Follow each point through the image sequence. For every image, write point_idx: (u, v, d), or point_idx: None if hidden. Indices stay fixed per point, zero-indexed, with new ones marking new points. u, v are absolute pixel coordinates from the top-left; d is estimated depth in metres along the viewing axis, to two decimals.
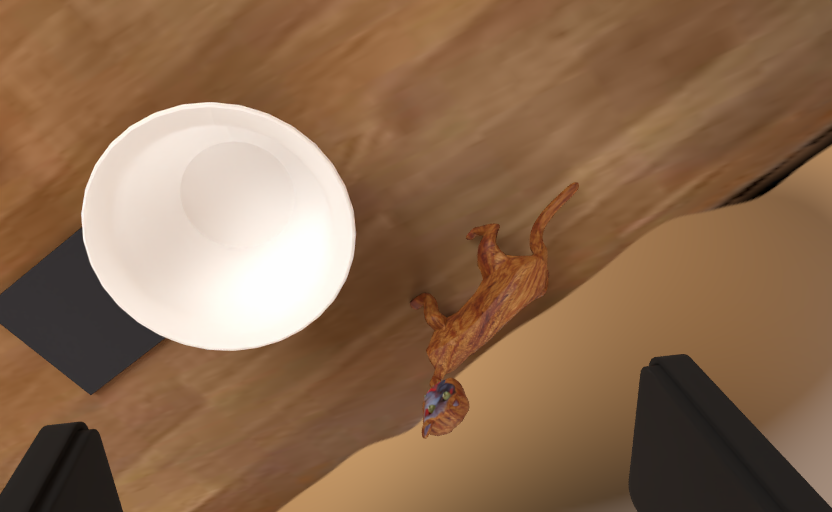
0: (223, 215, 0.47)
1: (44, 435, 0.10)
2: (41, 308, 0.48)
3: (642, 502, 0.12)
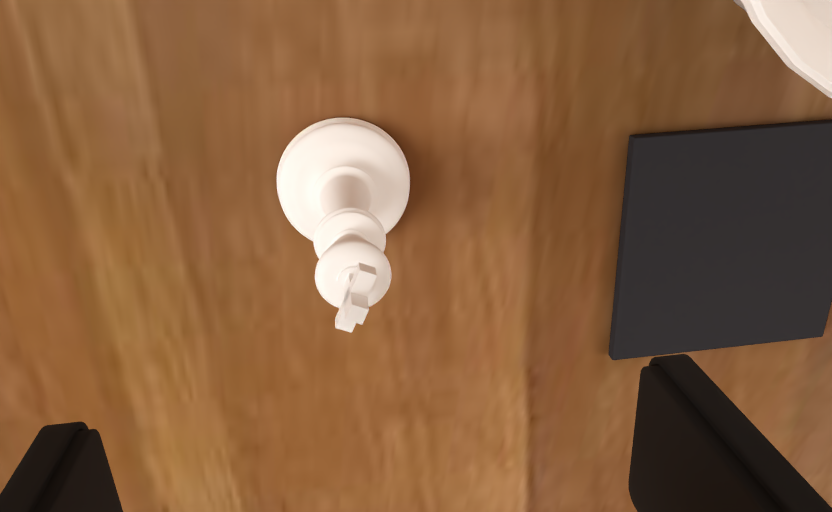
0: None
1: (44, 435, 0.10)
2: (675, 291, 0.28)
3: (642, 502, 0.12)
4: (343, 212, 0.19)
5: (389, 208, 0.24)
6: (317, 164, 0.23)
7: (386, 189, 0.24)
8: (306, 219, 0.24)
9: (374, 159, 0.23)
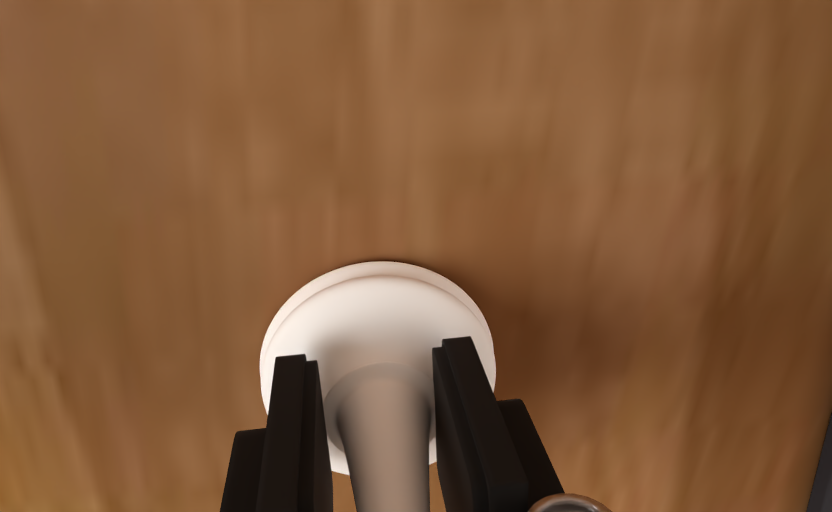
0: None
1: (280, 363, 0.11)
2: None
3: (440, 474, 0.12)
4: None
5: None
6: (332, 354, 0.12)
7: None
8: None
9: (437, 341, 0.13)
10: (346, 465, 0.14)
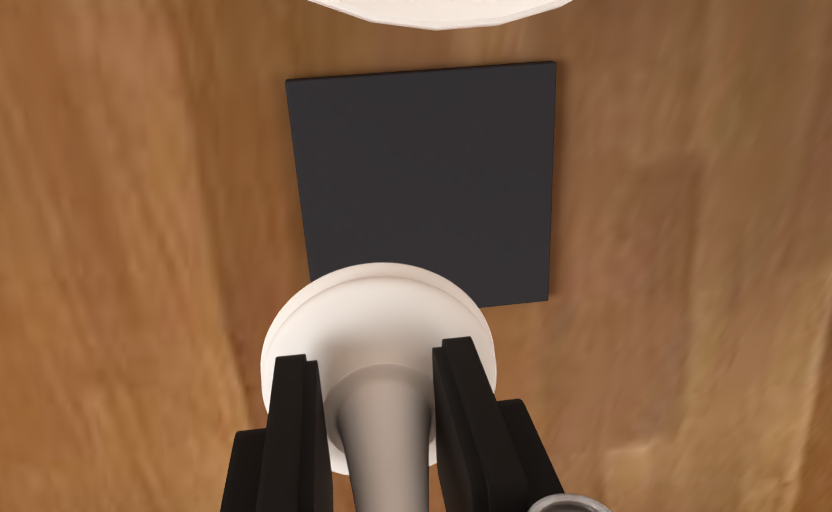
0: None
1: (281, 363, 0.11)
2: (370, 250, 0.26)
3: (440, 474, 0.12)
4: None
5: None
6: (333, 354, 0.12)
7: None
8: None
9: (437, 342, 0.13)
10: (346, 465, 0.14)
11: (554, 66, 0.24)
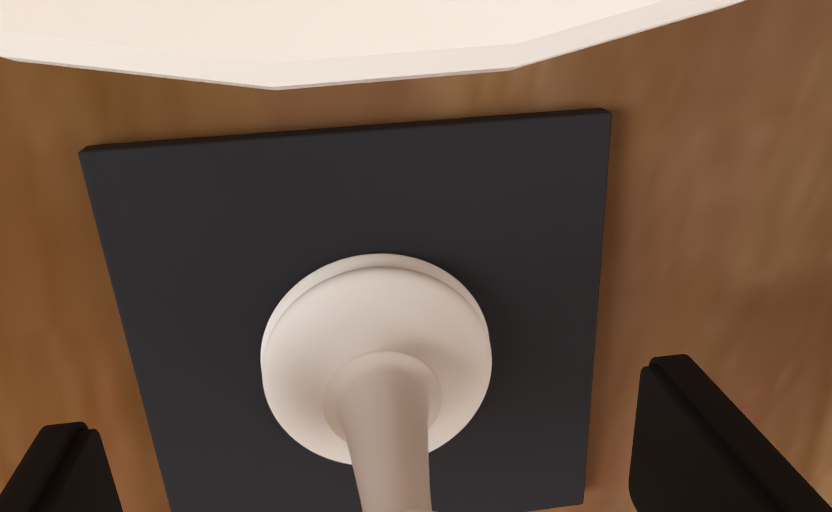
0: None
1: (44, 435, 0.10)
2: (271, 440, 0.15)
3: (642, 502, 0.12)
4: None
5: (457, 406, 0.14)
6: (333, 343, 0.13)
7: (454, 378, 0.13)
8: (312, 429, 0.14)
9: (434, 330, 0.13)
10: (345, 454, 0.14)
11: (608, 120, 0.13)
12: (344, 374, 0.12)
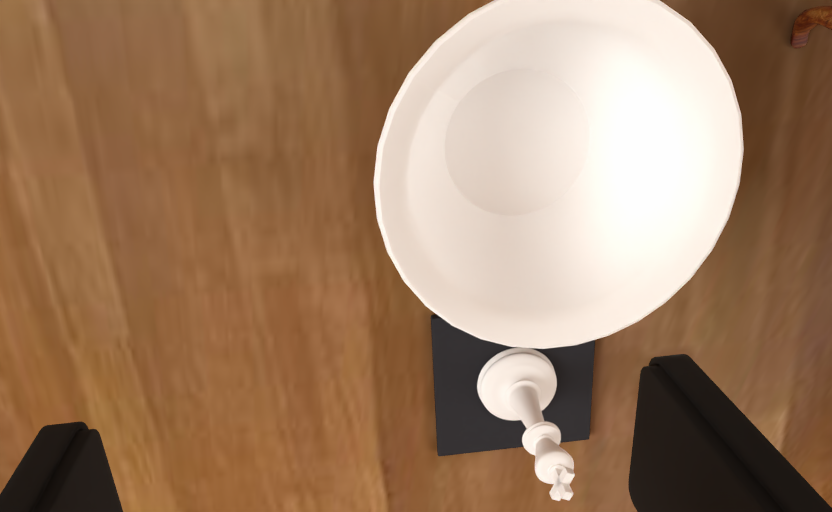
0: (525, 176, 0.35)
1: (44, 435, 0.10)
2: (476, 411, 0.41)
3: (642, 502, 0.12)
4: (540, 425, 0.35)
5: (545, 399, 0.40)
6: (506, 377, 0.39)
7: (544, 389, 0.40)
8: (496, 406, 0.40)
9: (539, 373, 0.39)
10: (506, 415, 0.40)
11: None
12: (512, 387, 0.39)
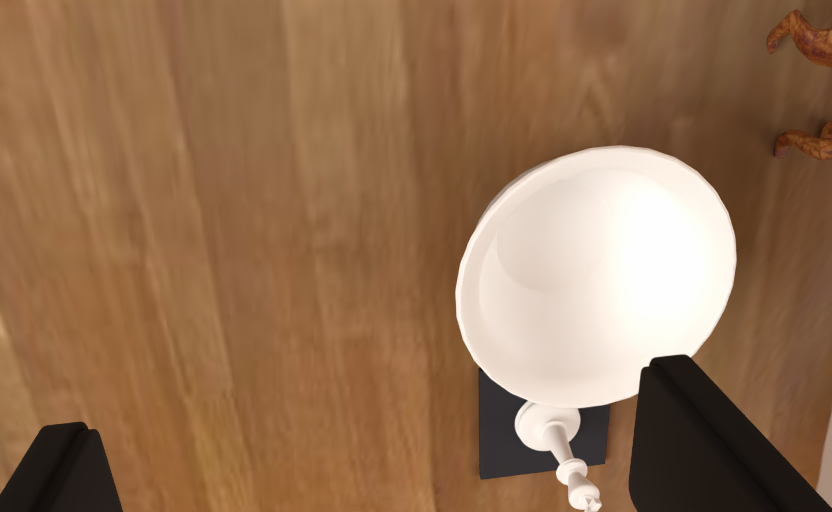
0: (559, 261, 0.44)
1: (44, 435, 0.10)
2: (513, 443, 0.50)
3: (642, 502, 0.12)
4: (571, 461, 0.44)
5: (570, 434, 0.49)
6: (540, 418, 0.48)
7: (570, 426, 0.49)
8: (531, 440, 0.49)
9: (566, 414, 0.48)
10: (538, 447, 0.49)
11: None
12: (545, 426, 0.47)
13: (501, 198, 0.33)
